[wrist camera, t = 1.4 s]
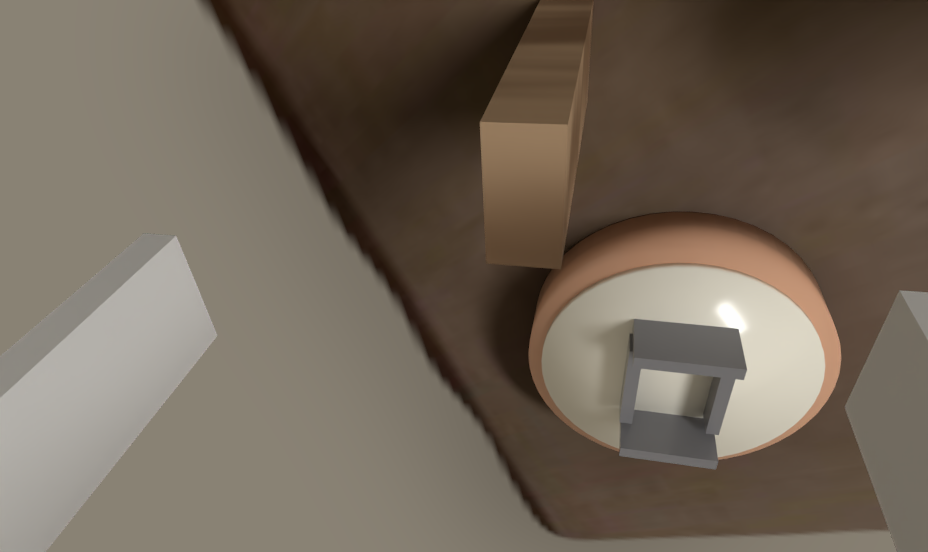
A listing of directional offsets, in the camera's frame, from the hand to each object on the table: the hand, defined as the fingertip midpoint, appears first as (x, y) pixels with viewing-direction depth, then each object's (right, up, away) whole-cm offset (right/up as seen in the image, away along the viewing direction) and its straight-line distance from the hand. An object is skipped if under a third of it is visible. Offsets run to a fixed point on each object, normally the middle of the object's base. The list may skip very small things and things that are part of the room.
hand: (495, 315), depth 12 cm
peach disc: (+10, -2, +20) cm, 22 cm away
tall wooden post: (+3, +10, +13) cm, 16 cm away
